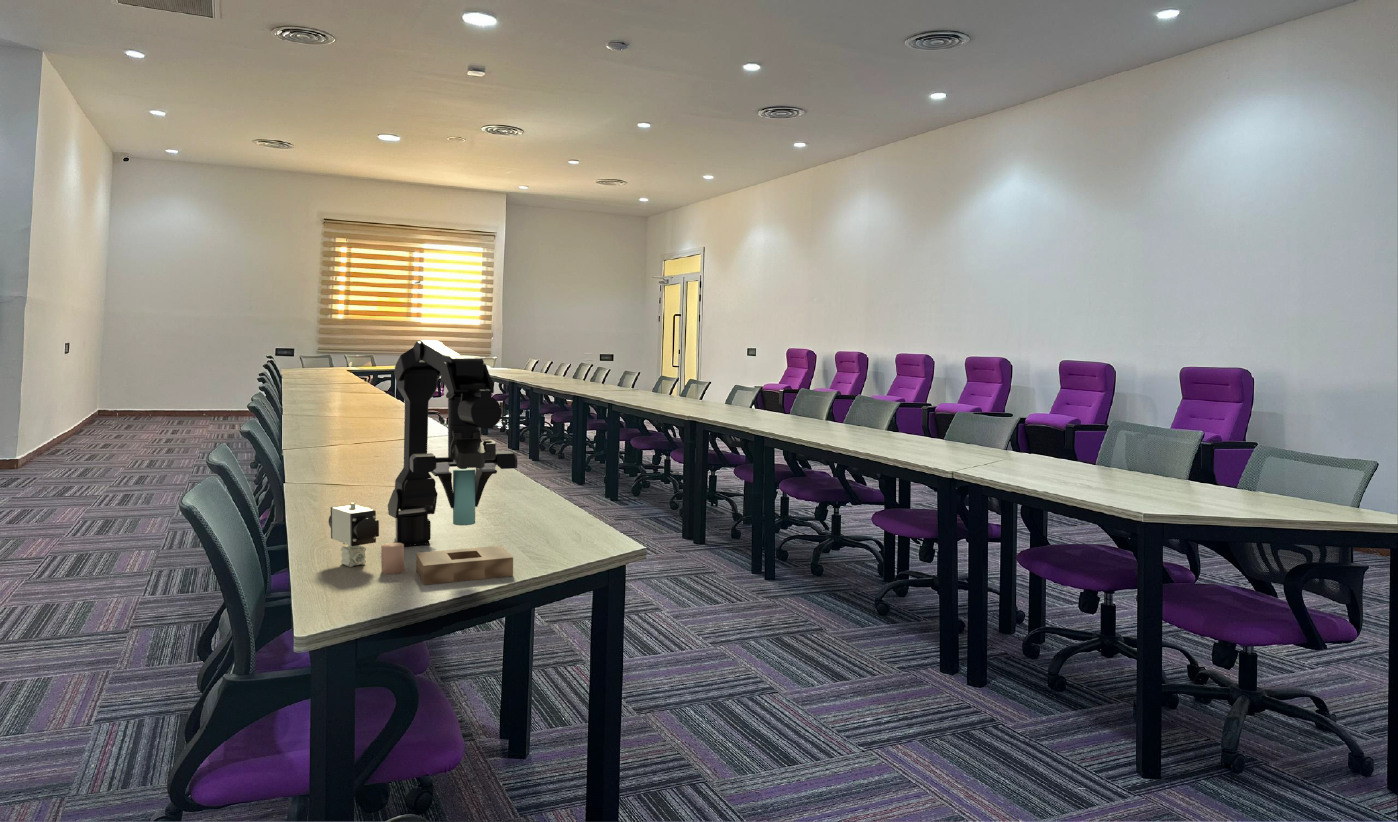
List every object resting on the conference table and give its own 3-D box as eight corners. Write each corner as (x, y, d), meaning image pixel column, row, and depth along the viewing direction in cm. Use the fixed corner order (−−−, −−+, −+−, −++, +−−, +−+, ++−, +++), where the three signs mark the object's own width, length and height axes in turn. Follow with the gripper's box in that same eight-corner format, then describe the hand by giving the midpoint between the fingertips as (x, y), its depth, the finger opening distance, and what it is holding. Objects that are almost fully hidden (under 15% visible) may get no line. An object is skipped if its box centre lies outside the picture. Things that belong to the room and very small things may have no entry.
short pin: (382, 575, 152) (382, 548, 152) (380, 569, 156) (380, 543, 155) (405, 573, 154) (405, 546, 154) (402, 567, 158) (402, 542, 157)
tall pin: (455, 526, 151) (455, 472, 150) (451, 521, 155) (451, 469, 154) (477, 524, 153) (477, 471, 152) (473, 520, 156) (473, 468, 156)
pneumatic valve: (355, 572, 153) (355, 509, 153) (327, 560, 161) (327, 500, 160) (384, 567, 158) (383, 505, 157) (355, 556, 165) (354, 497, 164)
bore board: (423, 584, 146) (423, 565, 146) (416, 571, 155) (416, 552, 155) (513, 575, 153) (513, 557, 153) (501, 563, 162) (501, 545, 162)
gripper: (417, 429, 141) (417, 519, 142) (524, 426, 149) (524, 511, 150) (409, 423, 151) (409, 507, 152) (510, 421, 159) (510, 501, 160)
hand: (464, 507), depth 153 cm, fingers closed on tall pin, 4 cm apart
